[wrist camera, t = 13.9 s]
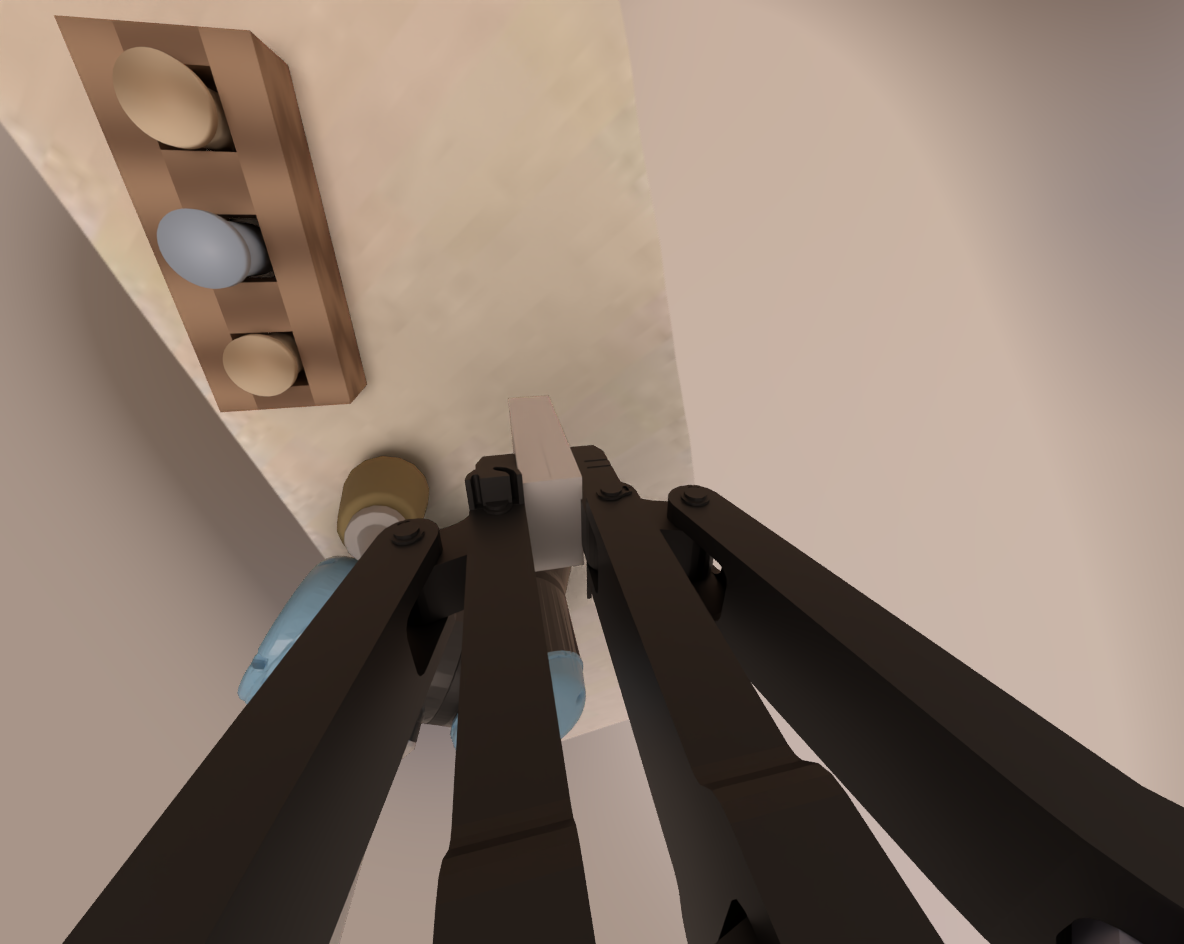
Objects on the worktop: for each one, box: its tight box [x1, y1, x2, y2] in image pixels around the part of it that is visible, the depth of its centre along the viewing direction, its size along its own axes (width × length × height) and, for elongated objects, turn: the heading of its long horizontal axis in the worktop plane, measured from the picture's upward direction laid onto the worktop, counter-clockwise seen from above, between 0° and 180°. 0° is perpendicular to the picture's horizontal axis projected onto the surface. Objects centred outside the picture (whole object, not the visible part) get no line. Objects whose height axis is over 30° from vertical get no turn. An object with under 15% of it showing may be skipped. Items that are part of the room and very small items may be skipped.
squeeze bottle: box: [337, 456, 429, 560], centre depth 40 cm, size 8×8×18 cm
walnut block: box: [54, 15, 367, 412], centre depth 34 cm, size 24×10×6 cm, turn 1°
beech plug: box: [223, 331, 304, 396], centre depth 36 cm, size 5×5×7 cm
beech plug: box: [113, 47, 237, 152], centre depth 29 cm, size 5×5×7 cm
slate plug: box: [157, 209, 273, 289], centre depth 31 cm, size 5×5×7 cm
